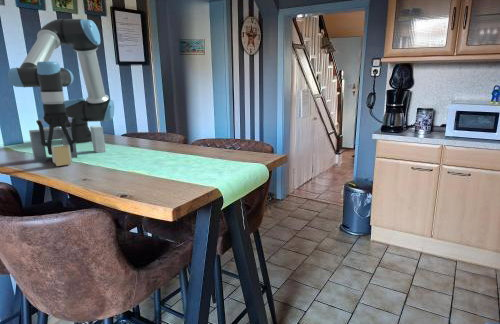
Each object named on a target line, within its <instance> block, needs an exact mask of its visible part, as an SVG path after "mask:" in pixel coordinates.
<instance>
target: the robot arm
mask: <svg viewBox="0 0 500 324" xmlns="http://www.w3.org/2000/svg"><path fill="white" fill-rule="evenodd" d="M39 29H40V30H38V32H37V35H36V41H35V42H34V44H33V45H32V46H31V48H30V51H28V54H27V55H26V56H25V58H24V60H23V62H22V64H21V65H20V67H11V68H9V70H8V72H7V76H8V80H9V82H10V85H12V87H17V88H39V89H40V95H41V96H40V97H41V102H42V107H43V108H42V109H43V118H41V119H37V120H36V124H37V125H38V130H39V131H40V138H41V144H42V145H43V146H45V147H47V154H48V155H49V156H50V155H51V158H52V163H54V164H55V163H56V160H55V154H54V147H55V146H53V145H52V143H53V140H52V137H53V130H54V127H60V128H62V130H63V132H64V134H65V137H66V139H67V141H68V143H69V144H66V145H67V147H68V149H69V156H70V162H71V161H73V160H72V159H73V158H71V152H73V143H84V142H85V143H86V142H90V141H92V136H91V130H90V127H89V125H88V124H89V123H90V122H110V121H112V120H113V119H114V115H115V102H114V100H112V99H110V97H109V95H107V94H106V91H105V87H104V83H103V77H102V74H101V69H100V64H99V59H98V56H97V55H98V54H97V50H98V49H99V45H100V44H101V35H100V31H99V29H98V26H97V25H96V23H95V22H94V21H93V20H91V19H84V18H66V19H65V18H59V19H53V20H51V21H50V22H48V23H46V24H44V25H43V26H42V27H41V28H39ZM62 45H68V46H69V45H70V46H71V47H72V49H73V51H75V52H76V54H77V55H78V56H77V57H78V60H79V63H80V64H79V65H80V67H81V68H80V69H81V72H82V76H83V80H84V85H85V88H86V92H87V97H86V99H85V98H84V97H80V98H74V99H65V95H64V89H63V88H67V87H69V86H71V85H72V84H73V82H74V80H75V79H74V78H75V77H74V74H73V72H72V71H71V70H69V69H67V68H65V67H60V64H59V62H57V61H50V59H51V57H52V55H53V53H54V51H55V50H57V49H58V48H59V47H60V46H62ZM45 123H46V124H47V125H48V127H49V133H48V140H45V136H44V129H43V128H44V124H45ZM66 127H71V132H72V138H73V140H71V138H70V136H69V134H68V131H67V129H66Z"/></svg>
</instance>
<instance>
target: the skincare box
mask: <svg viewBox="0 0 500 324" xmlns="http://www.w3.org/2000/svg"><path fill="white" fill-rule="evenodd" d="M89 129H90V131H91V136H92V140H91V143H92V147H93V151H94V152H95V153H105V152H106V151H107V150H106V143H105V137H104V129H103V126H101V125H92V126H90V127H89Z"/></svg>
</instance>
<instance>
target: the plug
mask: <svg viewBox="0 0 500 324" xmlns="http://www.w3.org/2000/svg"><path fill="white" fill-rule="evenodd" d="M53 147H54V154H55V160H56V163H54V165H56V167H59V166H60V167H61V166H67V165H71V161H70V156H69V149H68V147H67V146H66V145H65V146H63V145H57V146H53Z"/></svg>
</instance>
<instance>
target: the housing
mask: <svg viewBox="0 0 500 324" xmlns="http://www.w3.org/2000/svg"><path fill="white" fill-rule="evenodd" d="M43 129H44V136H45V141H47V140H48V133H49V126H45V127H44V126H43ZM66 129H67V131H68V134H69V136H70V138H71V140H73V138H72V132H71V127H66ZM28 131H29V137H30V143H31V148H32V156H33V161H34V163H44V162H48V157H47V151H46V146H43V145H42V144H41V138H40V131H39V129H33V130H32V129H31V130H30V129H29V130H28ZM53 140H61V142H62V143H61V144H62V146H65V145H66V144H69V143H68V141H67V139H66V137H65V134H64V132H63V130H62V128H61V127H54V130H53V137H52V141H53ZM66 146H67V145H66ZM71 158H72V159H74V158H78V151H77V145H76V143H73V152H71Z"/></svg>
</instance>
